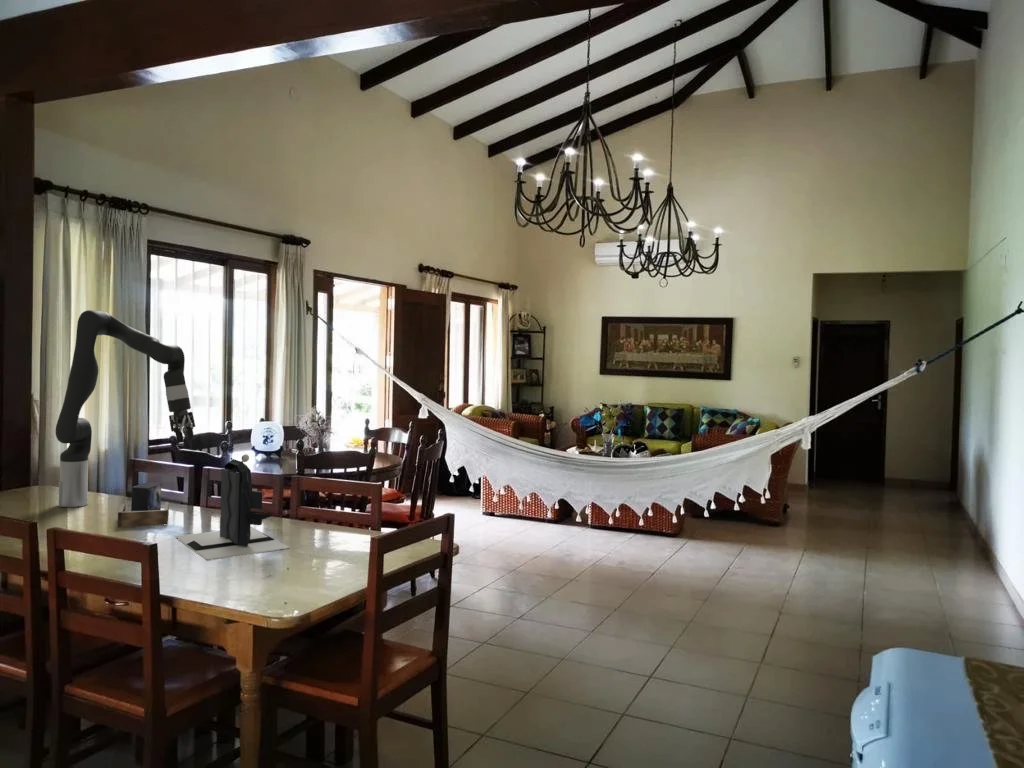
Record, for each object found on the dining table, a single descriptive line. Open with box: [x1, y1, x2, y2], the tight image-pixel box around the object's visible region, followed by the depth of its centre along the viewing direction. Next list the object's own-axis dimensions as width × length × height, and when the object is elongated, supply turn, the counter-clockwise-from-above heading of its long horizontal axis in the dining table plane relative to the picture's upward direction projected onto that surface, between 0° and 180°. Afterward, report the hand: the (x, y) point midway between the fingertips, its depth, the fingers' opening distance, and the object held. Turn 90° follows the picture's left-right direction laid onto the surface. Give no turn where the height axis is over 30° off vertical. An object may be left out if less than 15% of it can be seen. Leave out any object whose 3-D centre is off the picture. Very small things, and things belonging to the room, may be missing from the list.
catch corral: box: [117, 501, 170, 528], centre depth 268 cm, size 15×15×5 cm
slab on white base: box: [174, 453, 290, 561], centre depth 243 cm, size 32×25×28 cm
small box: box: [130, 482, 162, 511], centre depth 281 cm, size 11×6×10 cm, turn 179°
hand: (185, 441), depth 282 cm, fingers open, 8 cm apart
